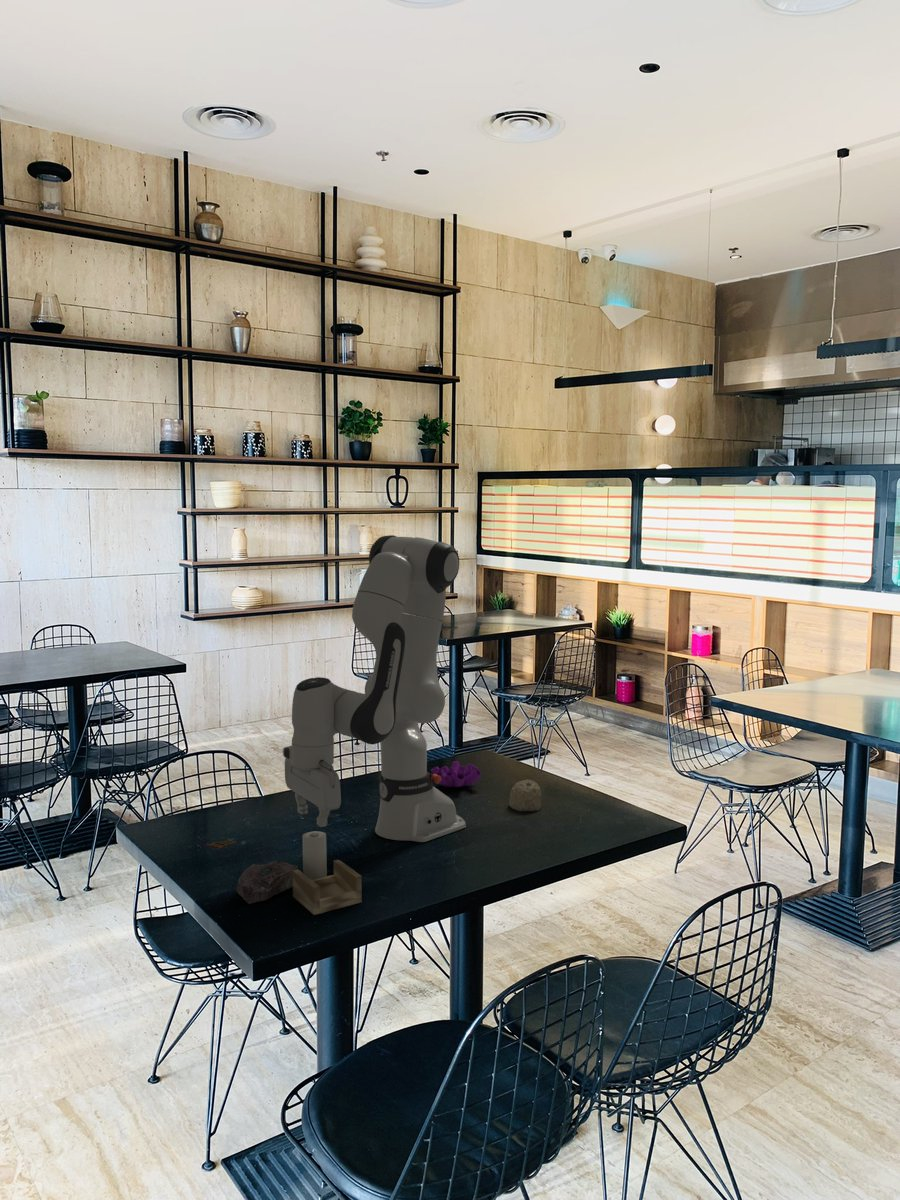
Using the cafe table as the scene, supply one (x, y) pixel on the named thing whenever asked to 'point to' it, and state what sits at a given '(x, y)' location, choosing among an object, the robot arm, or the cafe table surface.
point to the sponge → (525, 796)
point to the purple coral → (457, 775)
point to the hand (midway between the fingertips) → (312, 819)
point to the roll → (314, 855)
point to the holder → (328, 889)
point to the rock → (265, 881)
